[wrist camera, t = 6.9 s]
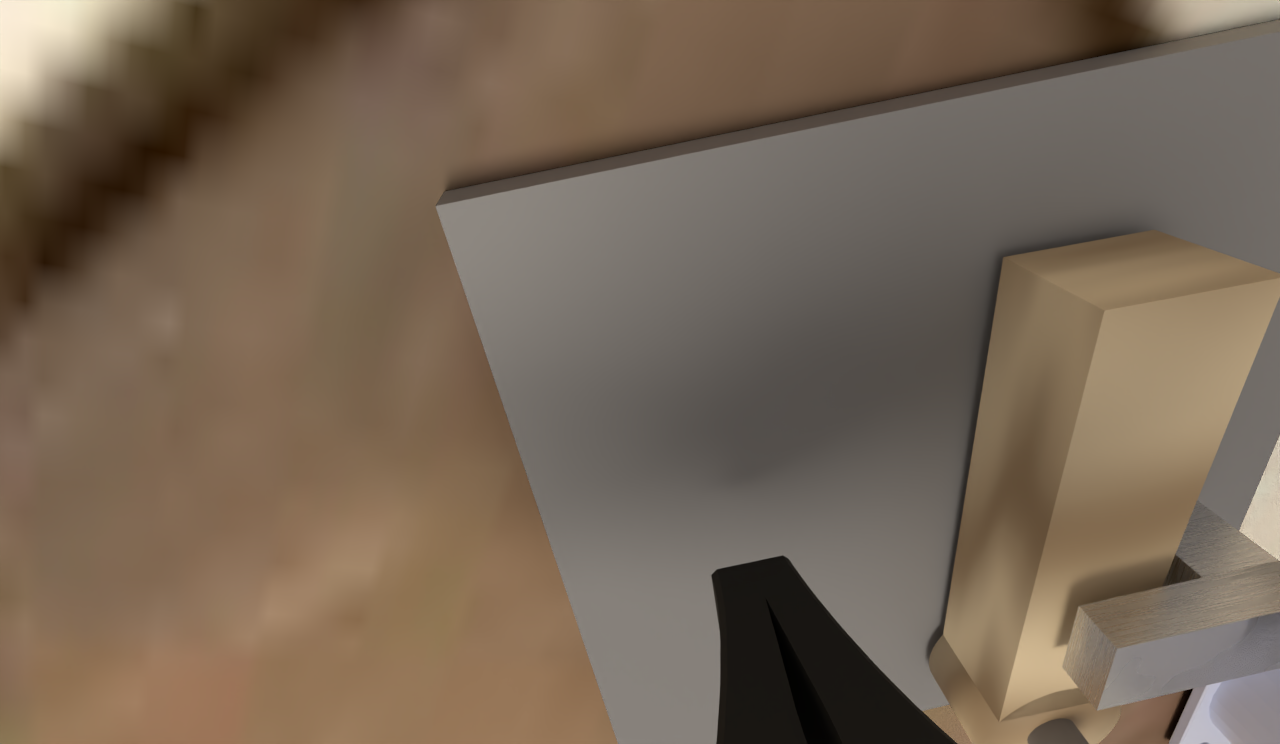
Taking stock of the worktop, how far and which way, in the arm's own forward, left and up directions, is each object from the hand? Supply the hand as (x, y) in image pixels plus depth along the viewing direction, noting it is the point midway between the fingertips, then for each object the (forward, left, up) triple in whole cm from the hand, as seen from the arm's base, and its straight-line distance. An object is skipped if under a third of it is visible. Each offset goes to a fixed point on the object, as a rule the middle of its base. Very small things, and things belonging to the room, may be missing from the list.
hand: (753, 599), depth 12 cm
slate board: (-5, +2, -4) cm, 7 cm away
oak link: (-7, +3, -3) cm, 8 cm away
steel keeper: (-9, +3, -3) cm, 10 cm away
